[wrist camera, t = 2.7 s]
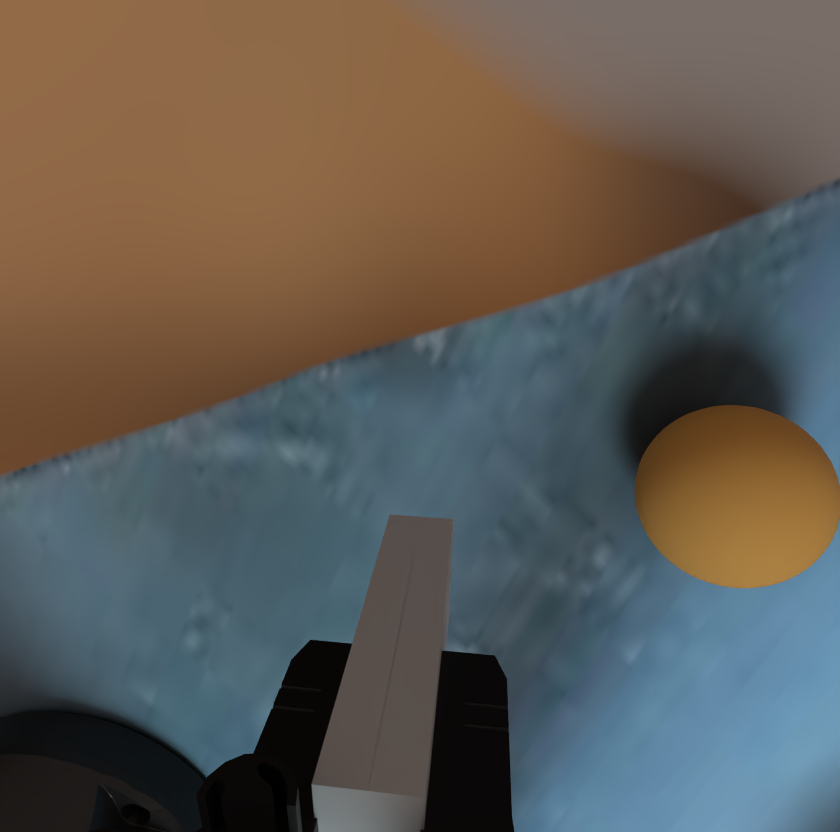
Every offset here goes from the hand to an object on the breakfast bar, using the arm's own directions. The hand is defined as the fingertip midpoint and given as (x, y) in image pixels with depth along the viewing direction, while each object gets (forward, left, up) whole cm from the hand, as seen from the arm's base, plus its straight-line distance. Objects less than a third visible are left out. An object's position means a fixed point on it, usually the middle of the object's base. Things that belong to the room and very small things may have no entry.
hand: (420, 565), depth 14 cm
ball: (+9, 0, -5) cm, 10 cm away
